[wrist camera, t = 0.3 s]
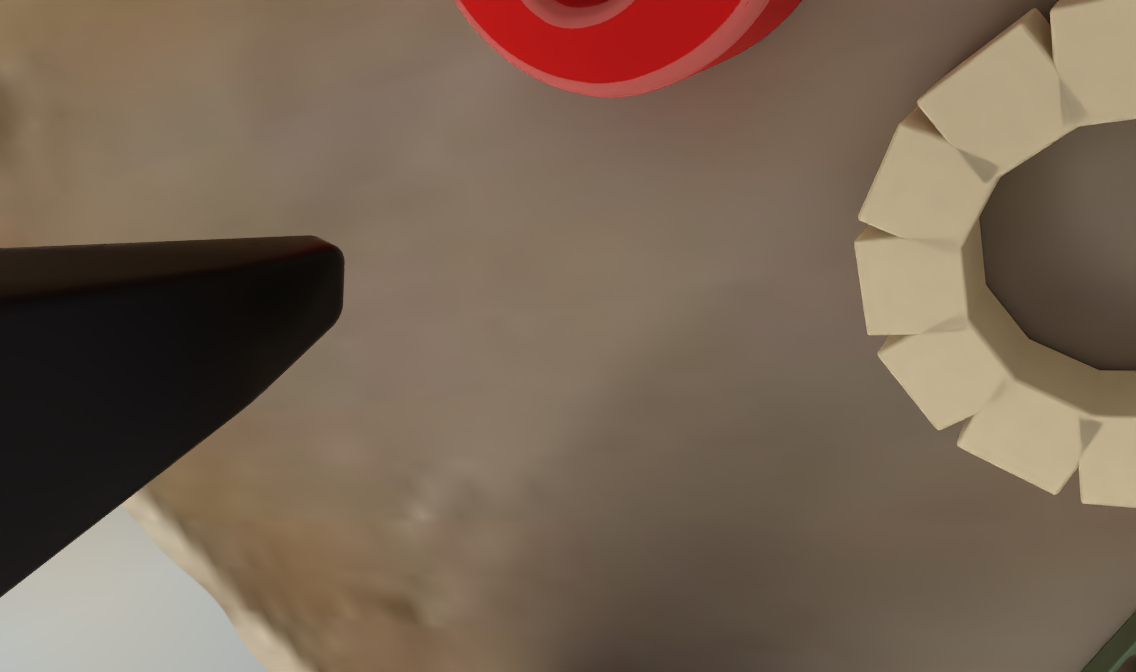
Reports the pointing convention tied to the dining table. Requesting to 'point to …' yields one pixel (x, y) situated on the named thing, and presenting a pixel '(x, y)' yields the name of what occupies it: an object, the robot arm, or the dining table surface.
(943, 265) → the ring
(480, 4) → the decorative ornament
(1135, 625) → the peg stand
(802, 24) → the dining table surface
